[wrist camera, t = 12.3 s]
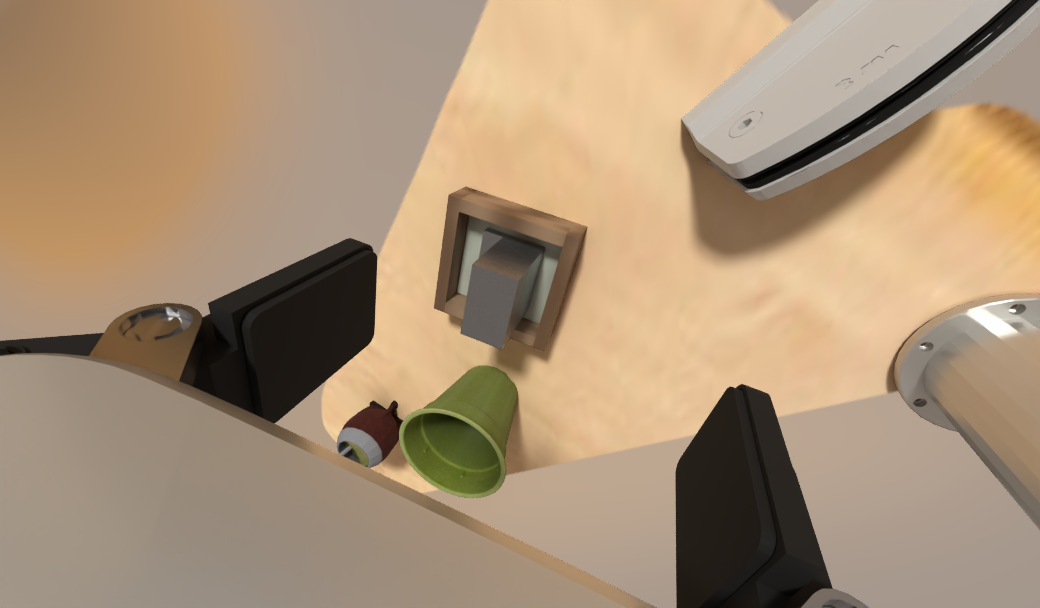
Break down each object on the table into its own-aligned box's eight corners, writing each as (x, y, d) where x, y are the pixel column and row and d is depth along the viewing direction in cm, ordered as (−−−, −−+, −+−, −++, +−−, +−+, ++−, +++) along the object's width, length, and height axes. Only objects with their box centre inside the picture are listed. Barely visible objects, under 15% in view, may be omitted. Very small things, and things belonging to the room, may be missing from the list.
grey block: (545, 246, 38) (518, 280, 32) (529, 307, 42) (501, 349, 35) (487, 227, 39) (449, 255, 33) (476, 288, 43) (440, 325, 36)
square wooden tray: (587, 226, 37) (579, 238, 34) (552, 333, 44) (543, 351, 41) (465, 186, 40) (448, 194, 36) (449, 293, 46) (433, 308, 43)
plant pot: (550, 421, 50) (522, 499, 40) (470, 427, 55) (428, 497, 46) (516, 340, 46) (476, 405, 36) (433, 354, 51) (379, 414, 42)
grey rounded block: (938, -103, 23) (1123, -123, 15) (962, -29, 25) (1136, -14, 17) (676, 122, 32) (712, 178, 24) (709, 163, 34) (752, 227, 26)
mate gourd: (417, 414, 57) (345, 505, 45) (400, 442, 62) (330, 533, 49) (373, 384, 57) (289, 467, 45) (359, 414, 62) (279, 498, 49)
